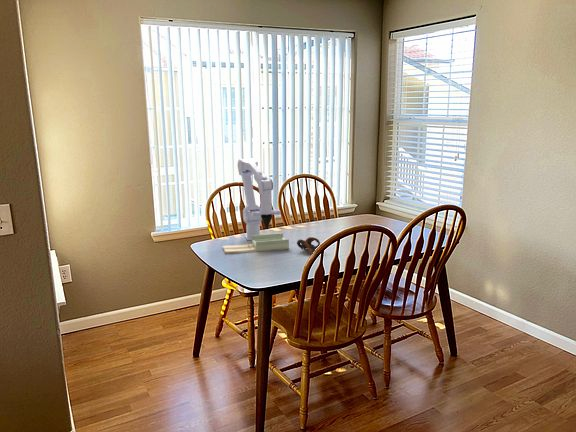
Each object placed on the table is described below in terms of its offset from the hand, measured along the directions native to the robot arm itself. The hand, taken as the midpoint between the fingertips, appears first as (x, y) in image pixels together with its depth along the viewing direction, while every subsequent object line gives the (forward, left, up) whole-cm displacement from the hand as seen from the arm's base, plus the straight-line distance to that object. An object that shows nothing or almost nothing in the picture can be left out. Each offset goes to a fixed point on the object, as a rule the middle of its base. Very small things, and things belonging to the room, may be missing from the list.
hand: (266, 228), depth 252 cm
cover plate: (0, -15, -10) cm, 18 cm away
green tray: (0, +2, -10) cm, 10 cm away
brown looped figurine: (+13, +19, -10) cm, 25 cm away
